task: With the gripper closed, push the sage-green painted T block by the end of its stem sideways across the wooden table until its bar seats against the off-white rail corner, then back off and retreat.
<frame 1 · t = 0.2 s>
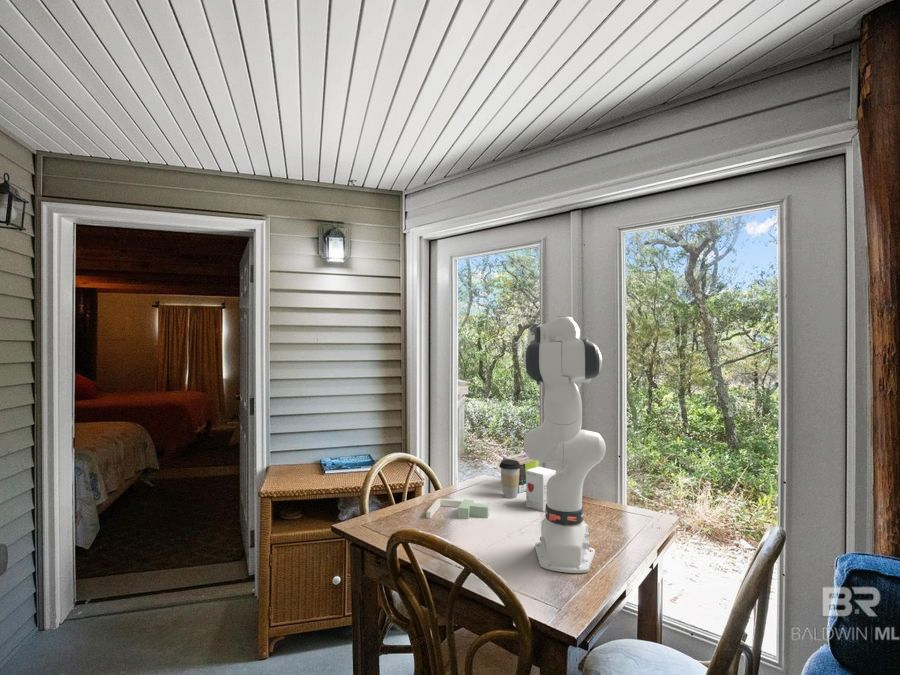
hand: (563, 393, 180), 47 cm above the table, fingers open, 8 cm apart
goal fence: (434, 511, 186), on the table
t block: (466, 514, 183), on the table
supplement box: (540, 507, 191), on the table
tea box: (521, 488, 216), on the table
coffee cup: (510, 496, 204), on the table
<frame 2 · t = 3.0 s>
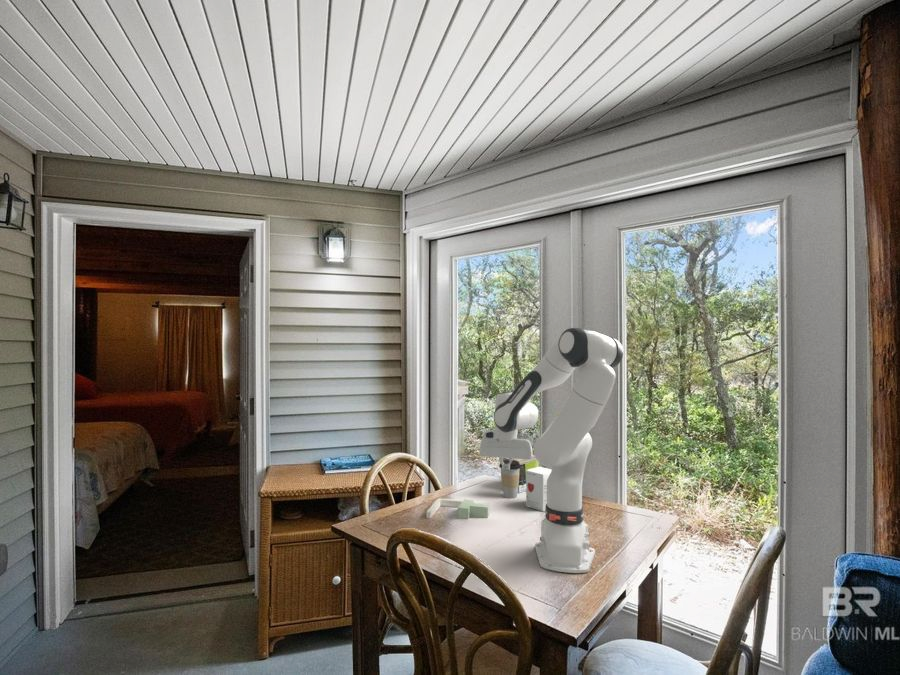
hand: (505, 469, 179), 19 cm above the table, fingers closed
nothing on the table moved.
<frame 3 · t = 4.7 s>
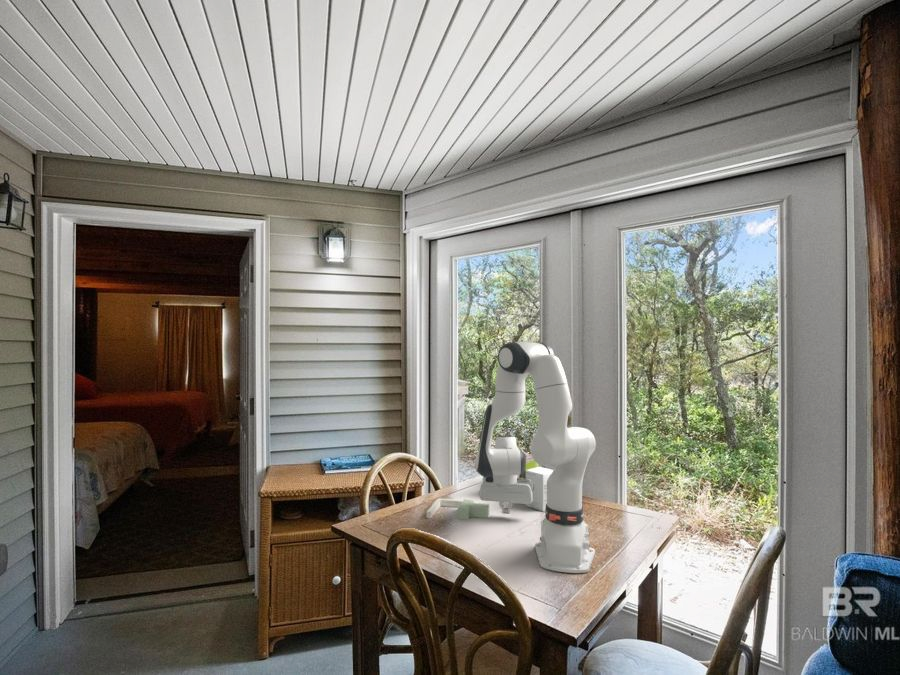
hand: (506, 513, 179), 2 cm above the table, fingers closed
nothing on the table moved.
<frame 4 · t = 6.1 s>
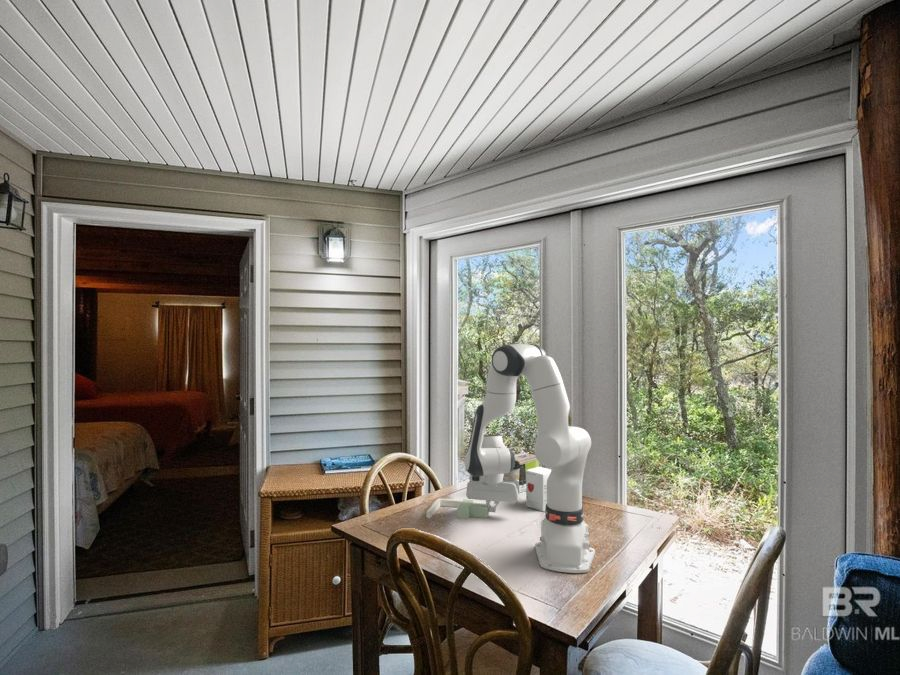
hand: (492, 511, 180), 2 cm above the table, fingers closed
t block: (465, 514, 183), on the table, touching gripper
everything else where it was.
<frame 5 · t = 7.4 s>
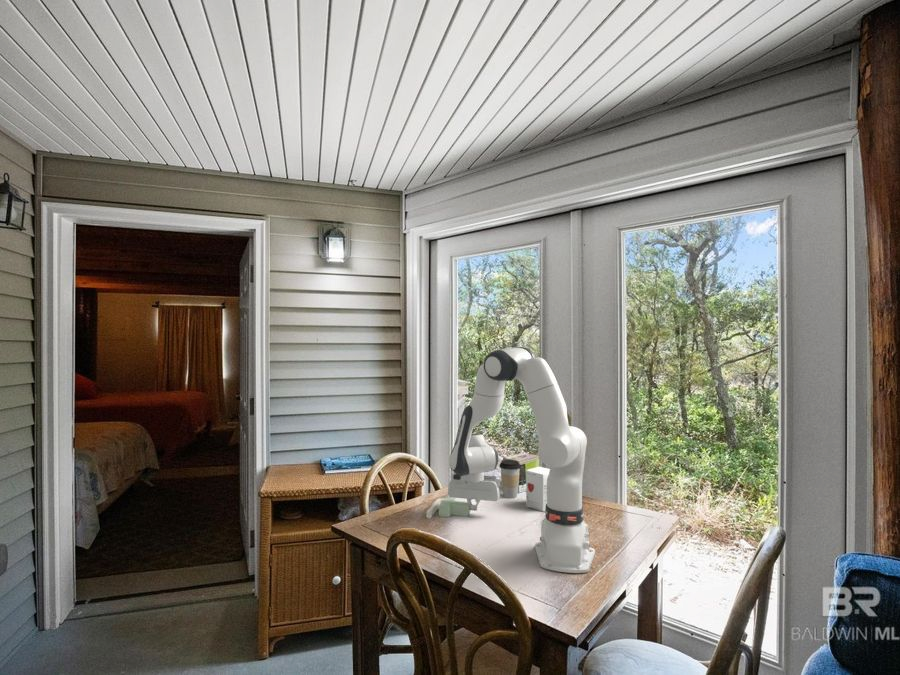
hand: (473, 510, 182), 2 cm above the table, fingers closed
t block: (447, 512, 185), on the table, touching gripper
everything else where it was.
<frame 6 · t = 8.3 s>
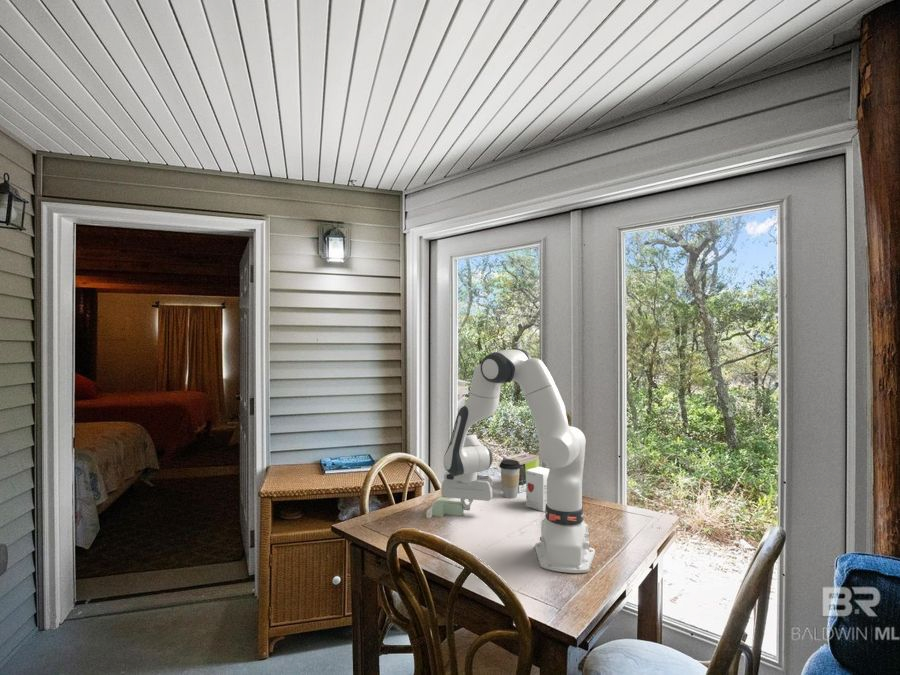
hand: (466, 509, 183), 2 cm above the table, fingers closed
t block: (440, 511, 185), on the table, touching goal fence, gripper
everything else where it was.
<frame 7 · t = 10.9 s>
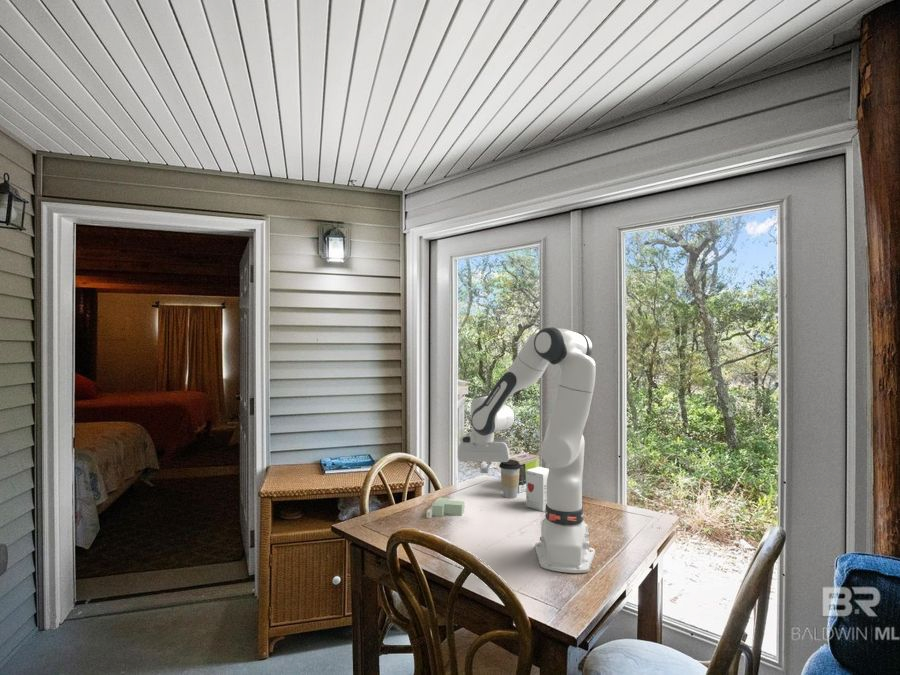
hand: (484, 472, 181), 17 cm above the table, fingers closed
t block: (440, 511, 185), on the table
everything else where it was.
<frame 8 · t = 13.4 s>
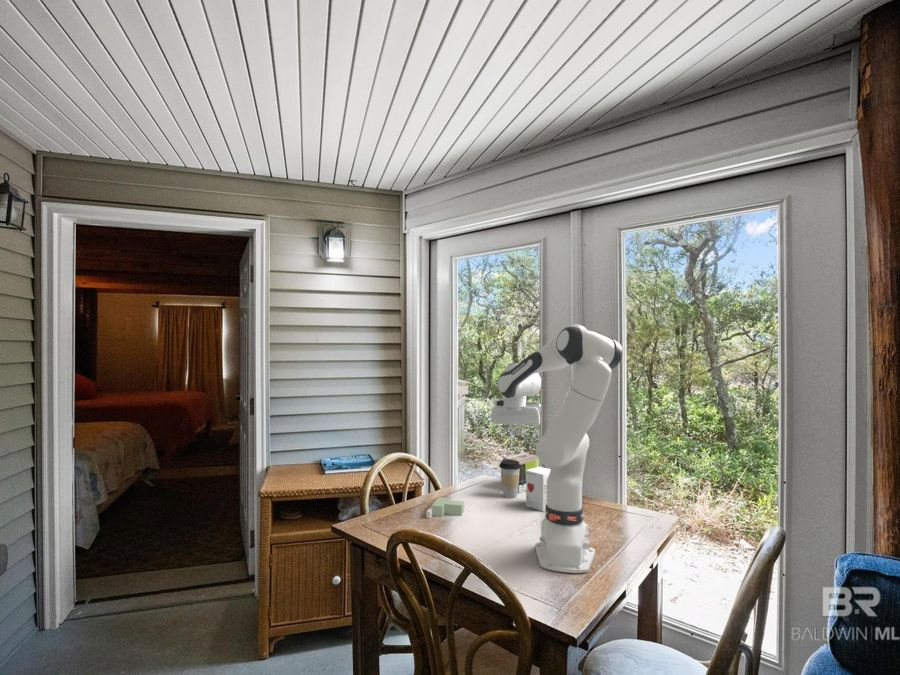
hand: (515, 435, 192), 29 cm above the table, fingers closed
nothing on the table moved.
at the end: t block inside the target area (0.8 cm from its centre), on the table; t block tilted 0° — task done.
